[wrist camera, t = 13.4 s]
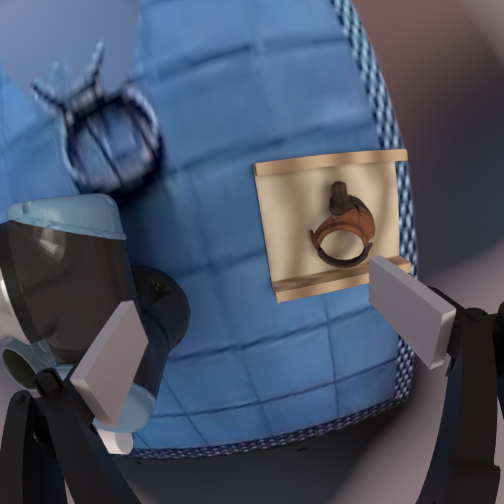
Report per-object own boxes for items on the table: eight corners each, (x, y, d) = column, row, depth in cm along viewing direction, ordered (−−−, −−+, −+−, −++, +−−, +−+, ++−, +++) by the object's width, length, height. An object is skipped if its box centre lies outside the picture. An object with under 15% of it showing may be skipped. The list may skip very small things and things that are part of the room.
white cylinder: (135, 436, 54) (129, 460, 46) (105, 435, 54) (98, 457, 46) (111, 406, 50) (101, 430, 43) (80, 406, 50) (69, 428, 43)
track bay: (272, 288, 44) (277, 302, 39) (252, 164, 38) (255, 163, 33) (395, 261, 44) (410, 271, 39) (389, 149, 38) (406, 149, 34)
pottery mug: (376, 232, 41) (381, 268, 36) (320, 242, 46) (316, 277, 40) (361, 163, 35) (367, 191, 29) (298, 177, 39) (290, 206, 33)
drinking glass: (33, 348, 45) (7, 379, 33) (26, 310, 42) (-6, 340, 30) (68, 363, 46) (45, 399, 35) (62, 324, 43) (32, 360, 32)
